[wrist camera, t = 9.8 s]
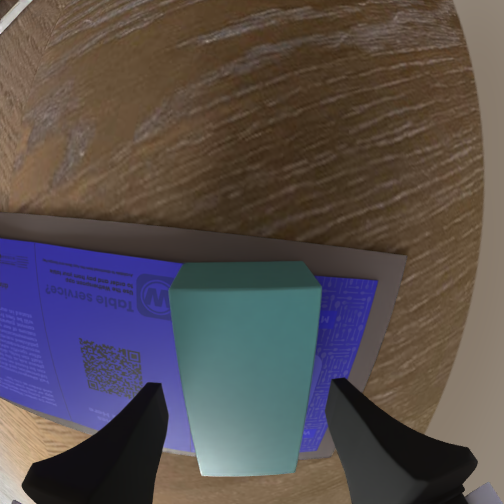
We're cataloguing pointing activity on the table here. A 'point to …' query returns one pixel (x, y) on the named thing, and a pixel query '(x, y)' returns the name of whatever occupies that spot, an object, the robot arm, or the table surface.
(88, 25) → the table surface
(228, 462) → the teal rectangular block
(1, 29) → the crossbow
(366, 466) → the robot arm
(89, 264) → the booklet
